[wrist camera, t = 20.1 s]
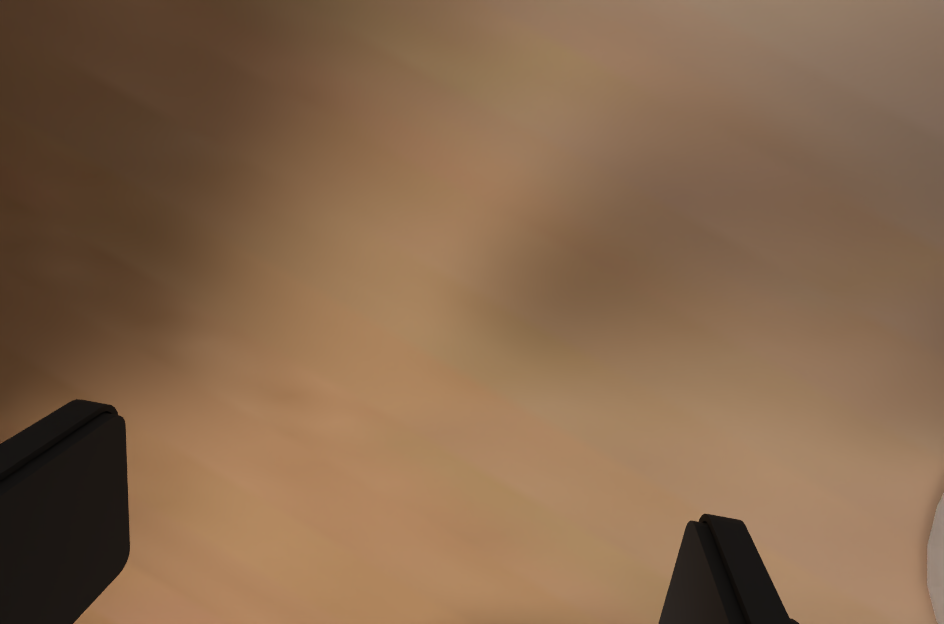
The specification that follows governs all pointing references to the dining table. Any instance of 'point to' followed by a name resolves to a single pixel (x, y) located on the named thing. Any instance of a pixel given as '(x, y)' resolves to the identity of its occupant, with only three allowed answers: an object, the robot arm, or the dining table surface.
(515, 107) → the dining table surface
